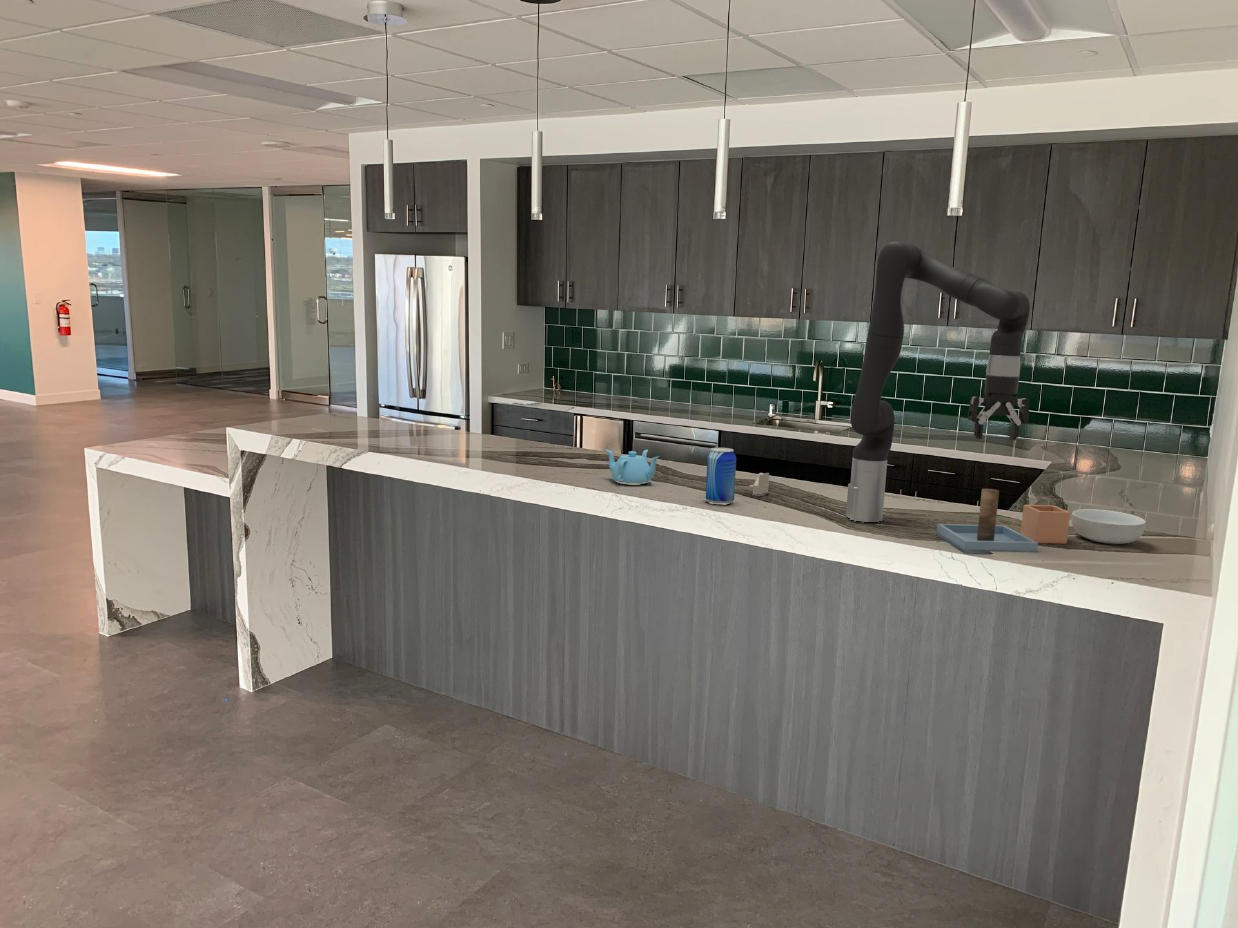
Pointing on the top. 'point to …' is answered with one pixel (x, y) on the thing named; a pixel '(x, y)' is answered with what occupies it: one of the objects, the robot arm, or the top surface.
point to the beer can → (721, 475)
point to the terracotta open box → (1045, 523)
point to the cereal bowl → (1107, 526)
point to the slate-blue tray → (967, 541)
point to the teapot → (632, 467)
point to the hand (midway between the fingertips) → (995, 439)
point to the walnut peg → (987, 515)
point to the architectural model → (761, 484)
